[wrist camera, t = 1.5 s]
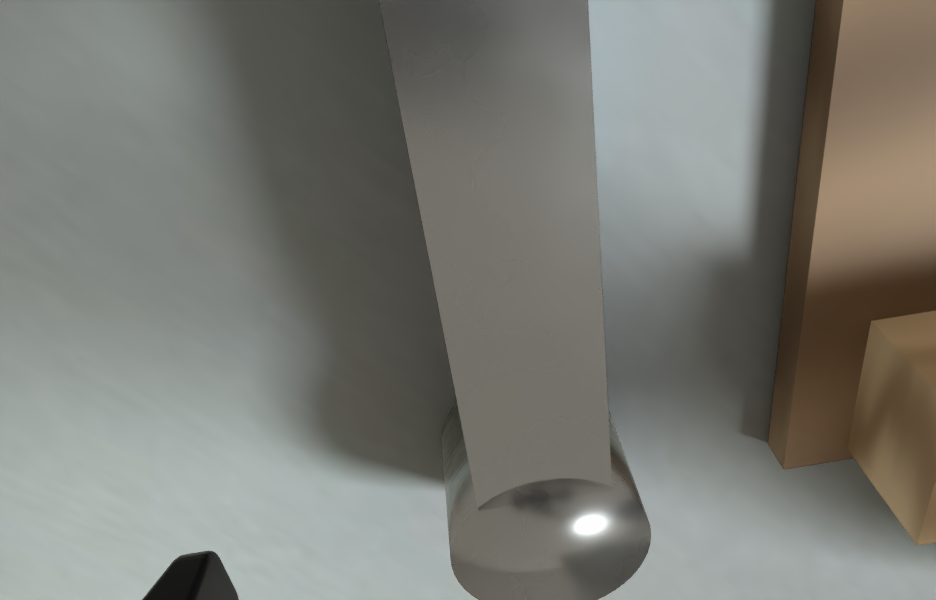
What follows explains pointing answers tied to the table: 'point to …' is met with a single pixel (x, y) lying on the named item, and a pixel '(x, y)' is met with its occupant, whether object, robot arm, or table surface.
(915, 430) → the rack
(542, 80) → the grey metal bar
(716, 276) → the table surface
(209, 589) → the robot arm
